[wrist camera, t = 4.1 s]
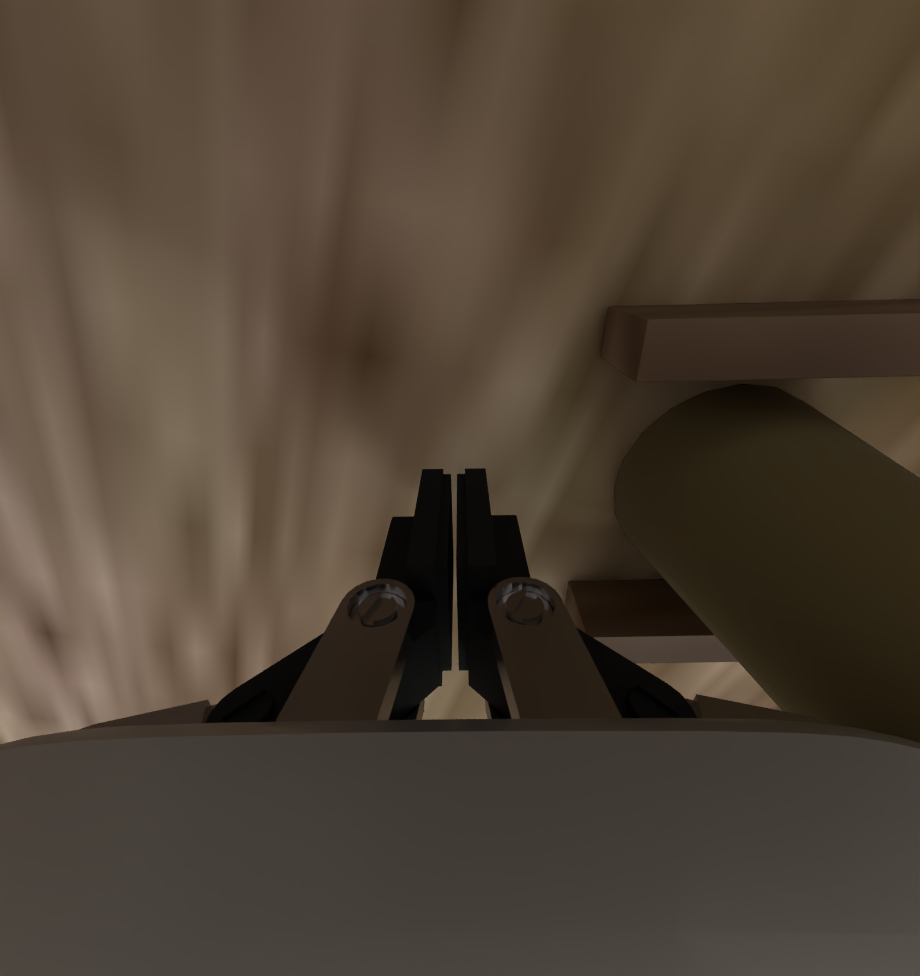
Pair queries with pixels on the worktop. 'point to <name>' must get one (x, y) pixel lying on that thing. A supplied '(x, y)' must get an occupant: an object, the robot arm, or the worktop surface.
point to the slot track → (729, 356)
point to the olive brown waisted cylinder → (787, 550)
